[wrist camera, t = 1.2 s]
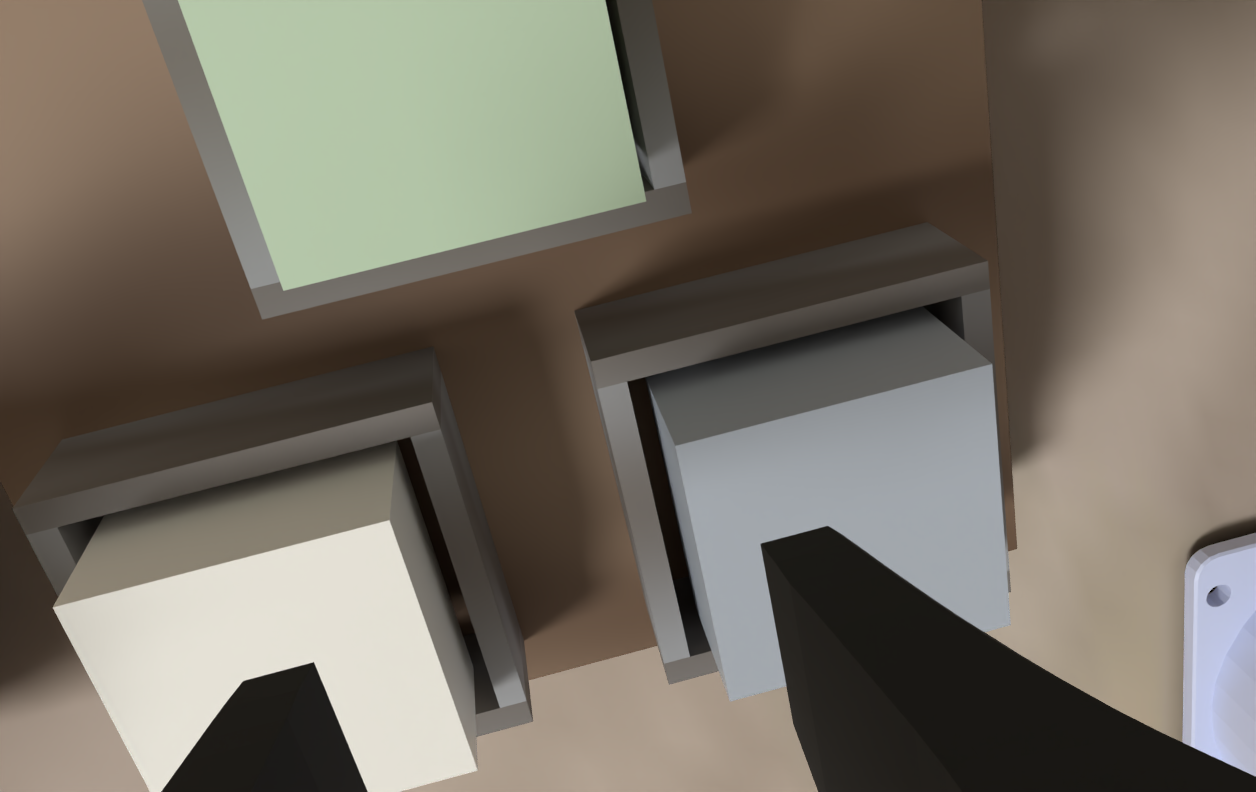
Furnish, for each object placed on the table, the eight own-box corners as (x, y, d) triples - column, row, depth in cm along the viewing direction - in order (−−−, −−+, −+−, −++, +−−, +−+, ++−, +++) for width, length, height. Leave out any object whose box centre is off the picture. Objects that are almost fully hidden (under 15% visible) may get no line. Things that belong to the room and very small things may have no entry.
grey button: (944, 542, 17) (1010, 624, 15) (695, 607, 17) (730, 701, 15) (921, 305, 15) (991, 363, 13) (644, 375, 15) (675, 446, 13)
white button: (473, 667, 17) (477, 770, 15) (213, 737, 16) (181, 852, 14) (396, 439, 15) (389, 520, 13) (105, 513, 15) (52, 607, 13)
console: (967, 493, 21) (1077, 615, 17) (183, 701, 20) (125, 876, 16) (892, -383, 15) (1035, -477, 11) (-228, -137, 14) (-461, -153, 10)
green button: (617, 159, 14) (646, 201, 12) (306, 236, 14) (283, 290, 12) (542, -191, 12) (562, -210, 10) (186, -111, 12) (136, -114, 10)
